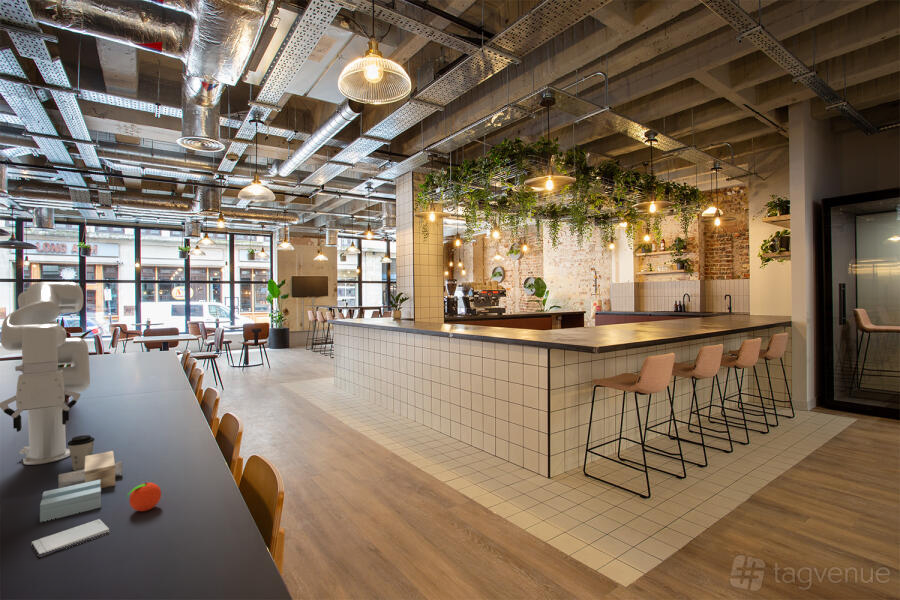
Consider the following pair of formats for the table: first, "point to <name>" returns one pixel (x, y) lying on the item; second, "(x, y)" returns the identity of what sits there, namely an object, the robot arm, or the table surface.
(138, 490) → the clementine
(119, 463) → the axle
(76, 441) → the coffee cup
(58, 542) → the hard drive
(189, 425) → the table surface
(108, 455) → the beam
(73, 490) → the v block
